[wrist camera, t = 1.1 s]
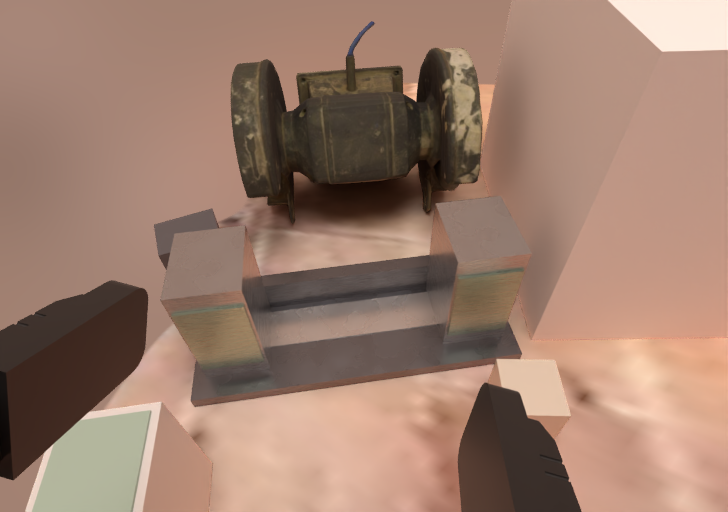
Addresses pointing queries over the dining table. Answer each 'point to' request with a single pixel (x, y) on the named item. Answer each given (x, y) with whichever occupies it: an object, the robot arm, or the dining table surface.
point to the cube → (616, 165)
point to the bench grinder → (358, 126)
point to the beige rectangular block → (535, 389)
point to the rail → (346, 308)
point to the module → (124, 465)
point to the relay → (181, 230)
